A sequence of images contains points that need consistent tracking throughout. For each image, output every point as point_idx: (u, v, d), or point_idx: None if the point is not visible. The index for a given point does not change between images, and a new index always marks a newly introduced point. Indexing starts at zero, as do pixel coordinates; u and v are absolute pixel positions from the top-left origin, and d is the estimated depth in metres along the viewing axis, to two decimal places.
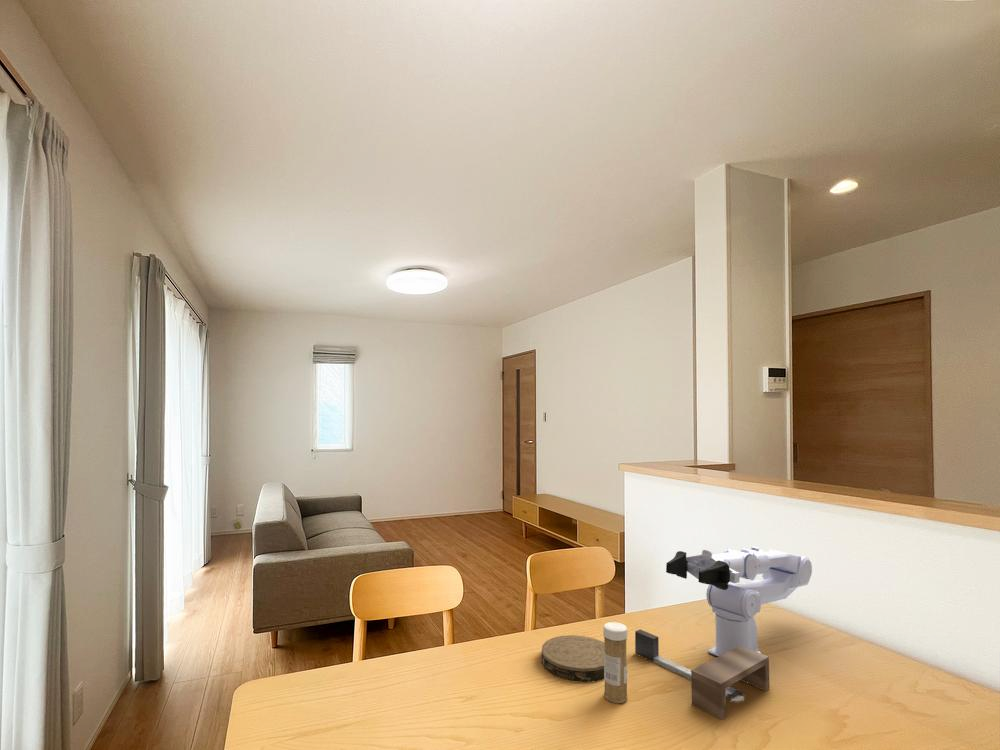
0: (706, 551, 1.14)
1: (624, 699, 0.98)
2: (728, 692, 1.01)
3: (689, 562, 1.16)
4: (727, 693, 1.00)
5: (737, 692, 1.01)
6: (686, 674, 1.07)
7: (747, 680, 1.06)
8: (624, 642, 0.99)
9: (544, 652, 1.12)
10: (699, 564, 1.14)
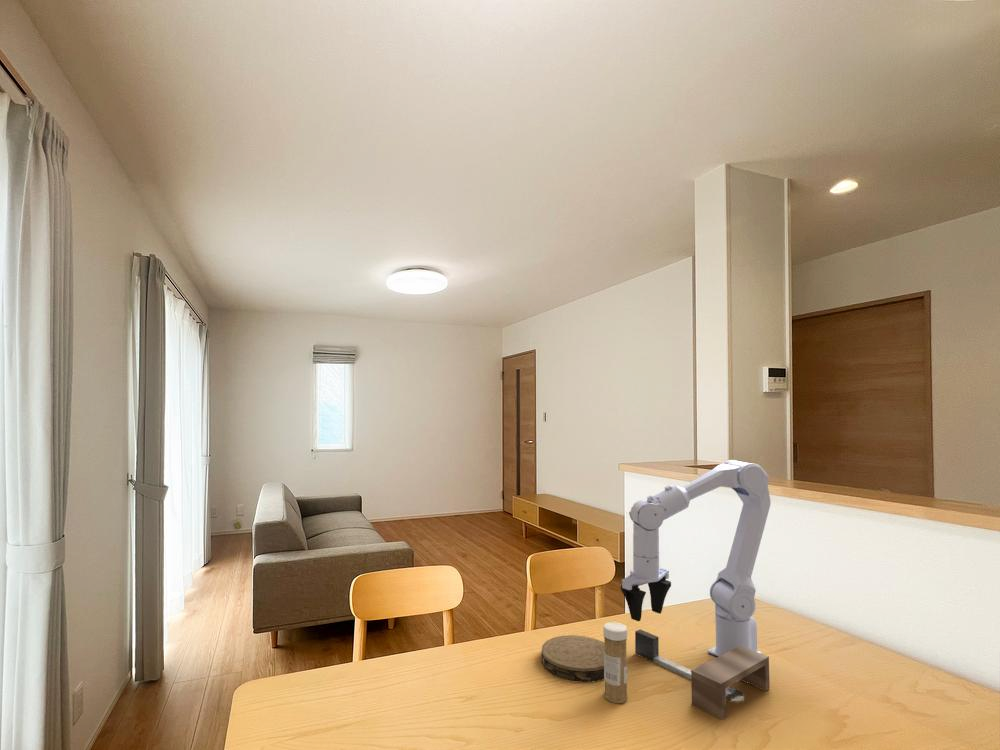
0: None
1: (624, 699, 0.98)
2: (728, 692, 1.01)
3: None
4: (727, 693, 1.00)
5: (737, 692, 1.01)
6: (686, 674, 1.07)
7: (747, 680, 1.06)
8: (624, 642, 0.99)
9: (544, 652, 1.12)
10: None
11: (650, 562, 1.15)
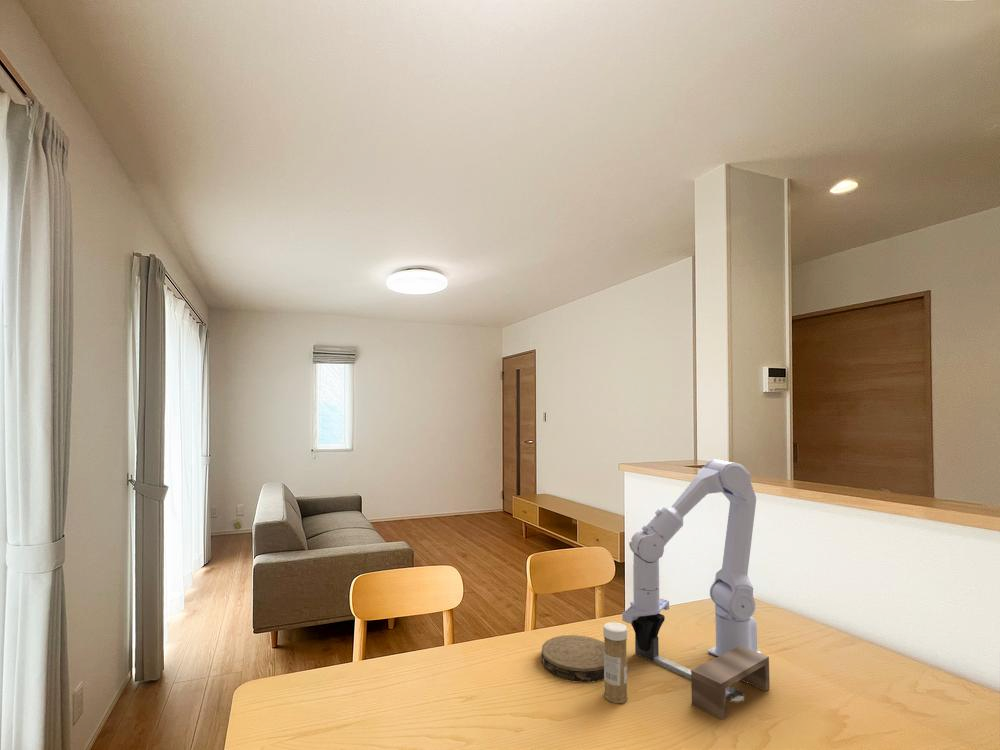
0: None
1: (624, 699, 0.98)
2: (728, 692, 1.01)
3: None
4: (727, 693, 1.00)
5: (737, 692, 1.01)
6: (686, 674, 1.07)
7: (747, 680, 1.06)
8: (624, 642, 0.99)
9: (544, 652, 1.12)
10: None
11: (650, 594, 1.15)
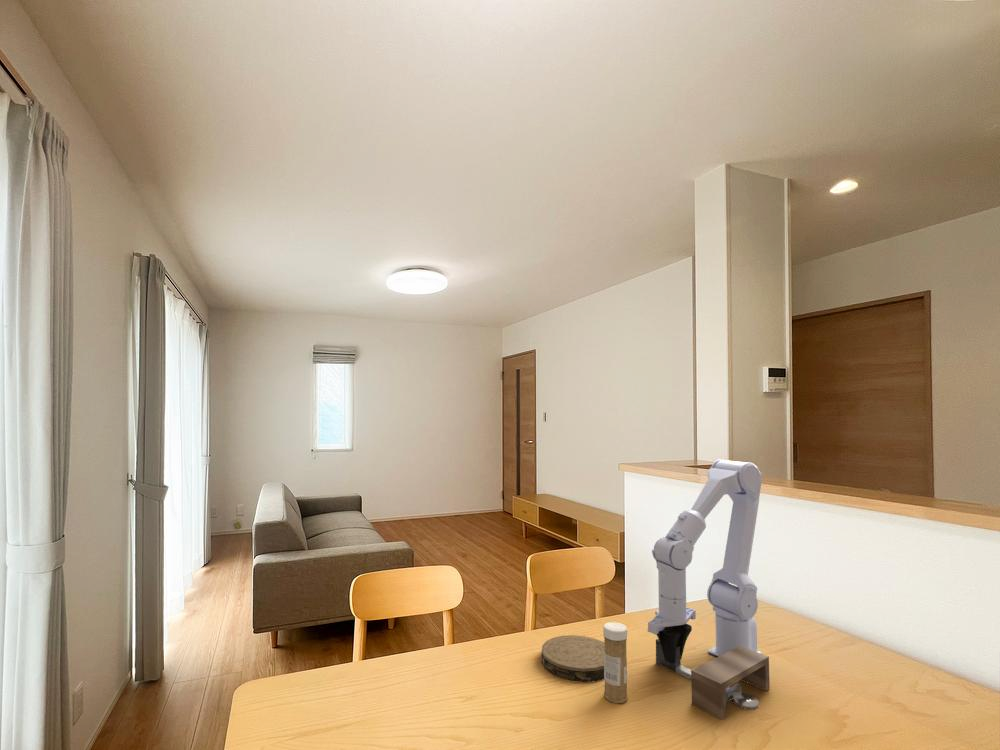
0: None
1: (624, 699, 0.98)
2: (741, 697, 0.98)
3: None
4: (741, 698, 0.98)
5: (751, 697, 0.98)
6: None
7: (747, 680, 1.06)
8: (624, 642, 0.99)
9: (544, 652, 1.12)
10: None
11: (677, 604, 1.09)
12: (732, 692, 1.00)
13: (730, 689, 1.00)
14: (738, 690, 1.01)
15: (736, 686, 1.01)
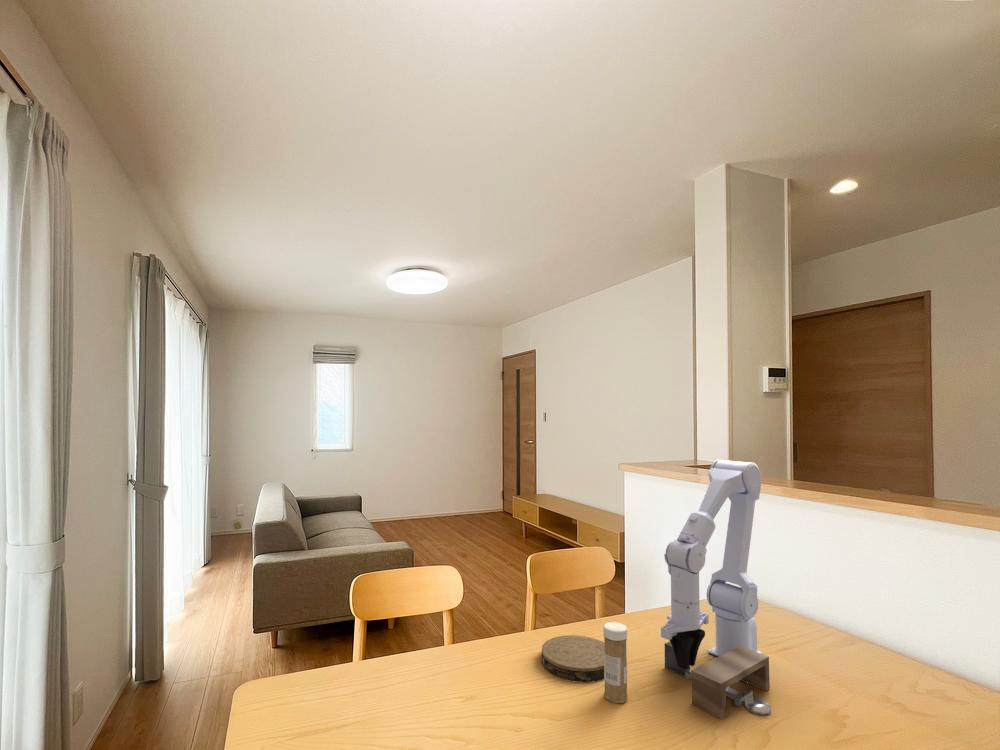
0: None
1: (624, 699, 0.98)
2: (753, 703, 0.97)
3: None
4: (753, 704, 0.96)
5: (763, 703, 0.97)
6: None
7: (747, 680, 1.06)
8: (624, 642, 0.99)
9: (544, 652, 1.12)
10: None
11: (690, 608, 1.07)
12: (744, 697, 0.98)
13: (742, 694, 0.98)
14: (750, 695, 0.99)
15: (748, 691, 1.00)
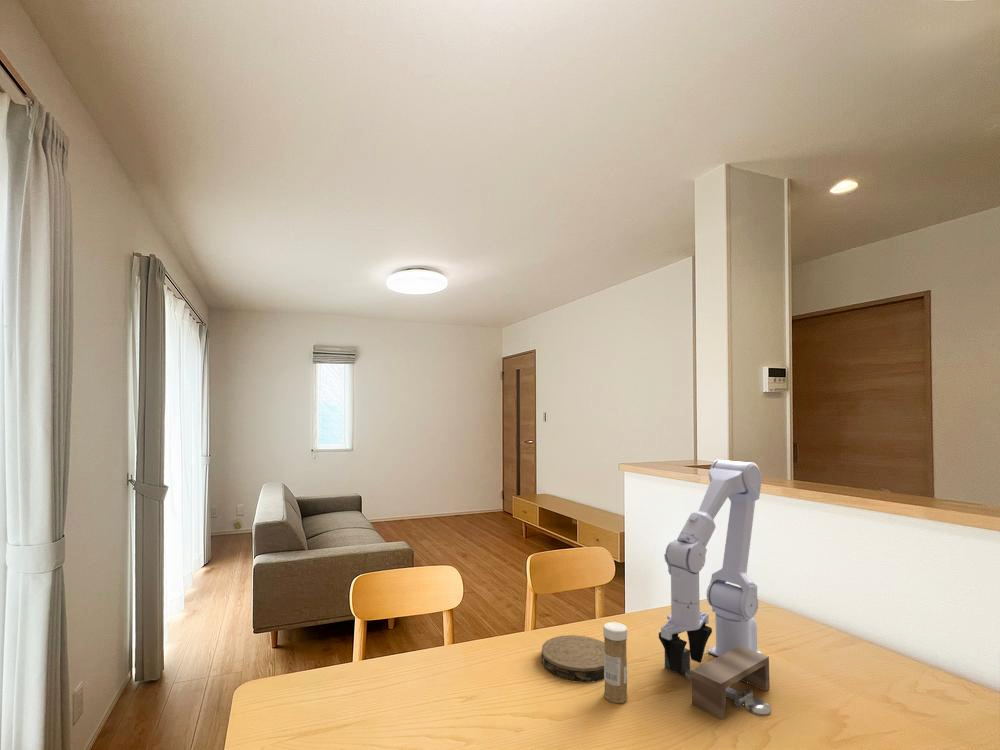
0: None
1: (624, 699, 0.98)
2: (754, 704, 0.97)
3: None
4: (753, 705, 0.96)
5: (763, 704, 0.96)
6: None
7: (747, 680, 1.06)
8: (624, 642, 0.99)
9: (544, 652, 1.12)
10: None
11: (691, 608, 1.07)
12: (744, 697, 0.98)
13: (742, 694, 0.98)
14: (750, 695, 0.99)
15: (748, 691, 1.00)
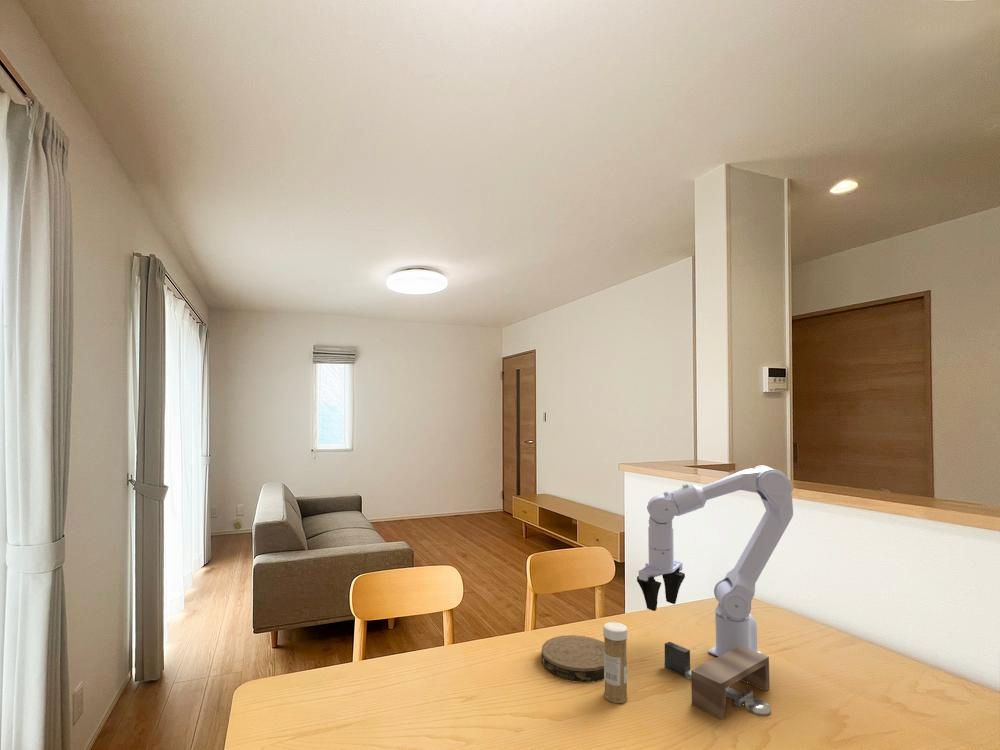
0: None
1: (624, 699, 0.98)
2: (754, 704, 0.97)
3: None
4: (753, 705, 0.96)
5: (763, 704, 0.96)
6: None
7: (747, 680, 1.06)
8: (624, 642, 0.99)
9: (544, 652, 1.12)
10: None
11: (665, 554, 1.20)
12: (744, 697, 0.98)
13: (742, 694, 0.98)
14: (750, 695, 0.99)
15: (748, 691, 1.00)
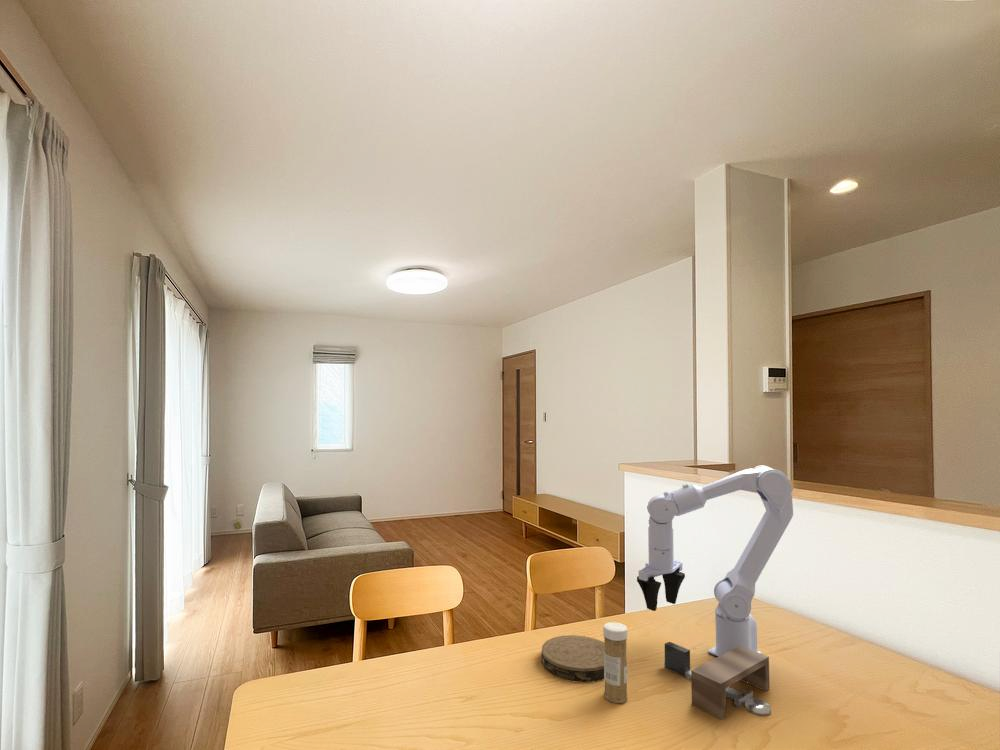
0: None
1: (624, 699, 0.98)
2: (754, 704, 0.97)
3: None
4: (753, 705, 0.96)
5: (763, 704, 0.96)
6: None
7: (747, 680, 1.06)
8: (624, 642, 0.99)
9: (544, 652, 1.12)
10: None
11: (665, 554, 1.20)
12: (744, 697, 0.98)
13: (742, 694, 0.98)
14: (750, 695, 0.99)
15: (748, 691, 1.00)
